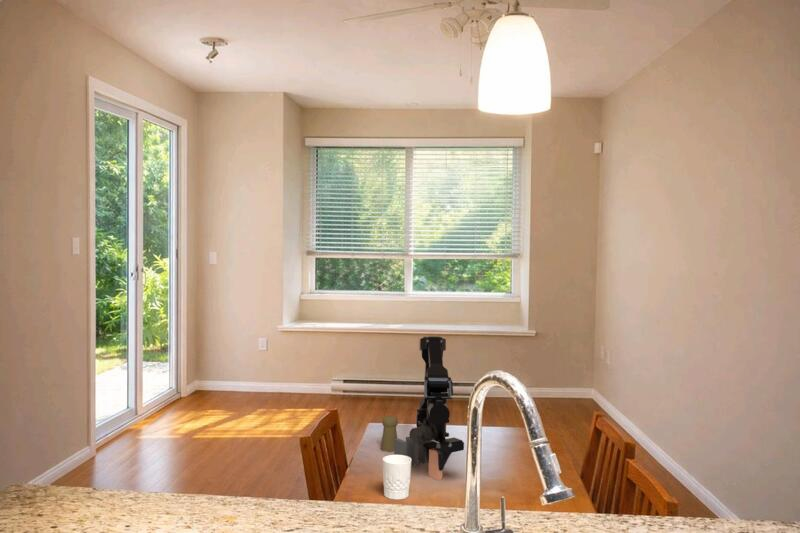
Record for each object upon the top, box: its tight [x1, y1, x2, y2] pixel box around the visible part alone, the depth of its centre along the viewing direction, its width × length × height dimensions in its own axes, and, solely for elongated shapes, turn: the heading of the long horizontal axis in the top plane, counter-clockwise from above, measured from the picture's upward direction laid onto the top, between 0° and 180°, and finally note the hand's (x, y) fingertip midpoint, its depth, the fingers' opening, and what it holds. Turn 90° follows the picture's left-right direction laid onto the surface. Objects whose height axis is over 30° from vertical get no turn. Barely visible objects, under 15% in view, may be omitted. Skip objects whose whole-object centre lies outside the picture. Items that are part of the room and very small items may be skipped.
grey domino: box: [418, 445, 428, 464], centre depth 215 cm, size 2×4×8 cm, turn 37°
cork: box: [380, 415, 399, 453], centre depth 227 cm, size 6×6×11 cm
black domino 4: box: [393, 438, 407, 456], centre depth 209 cm, size 2×4×8 cm, turn 37°
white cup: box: [382, 454, 412, 500], centre depth 185 cm, size 8×8×10 cm
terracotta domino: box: [427, 448, 443, 481], centre depth 200 cm, size 2×4×8 cm, turn 37°
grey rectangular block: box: [405, 435, 419, 467], centre depth 212 cm, size 2×4×8 cm, turn 37°
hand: (435, 468), depth 200 cm, fingers closed on terracotta domino, 4 cm apart
